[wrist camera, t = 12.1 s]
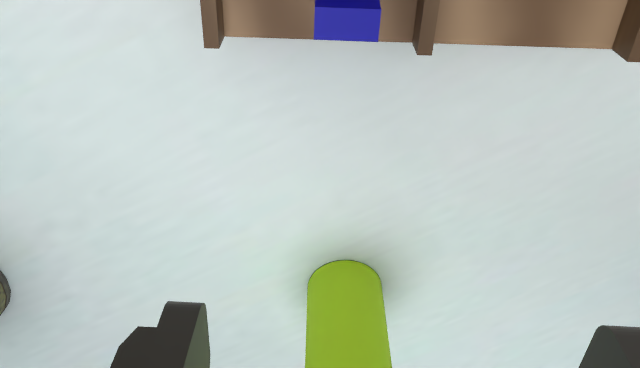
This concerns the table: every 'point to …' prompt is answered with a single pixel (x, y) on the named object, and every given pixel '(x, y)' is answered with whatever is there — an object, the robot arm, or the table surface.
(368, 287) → the soap dispenser
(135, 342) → the robot arm
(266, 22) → the rack
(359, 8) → the blue cradle stand
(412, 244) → the table surface
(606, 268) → the table surface
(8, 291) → the thermos
